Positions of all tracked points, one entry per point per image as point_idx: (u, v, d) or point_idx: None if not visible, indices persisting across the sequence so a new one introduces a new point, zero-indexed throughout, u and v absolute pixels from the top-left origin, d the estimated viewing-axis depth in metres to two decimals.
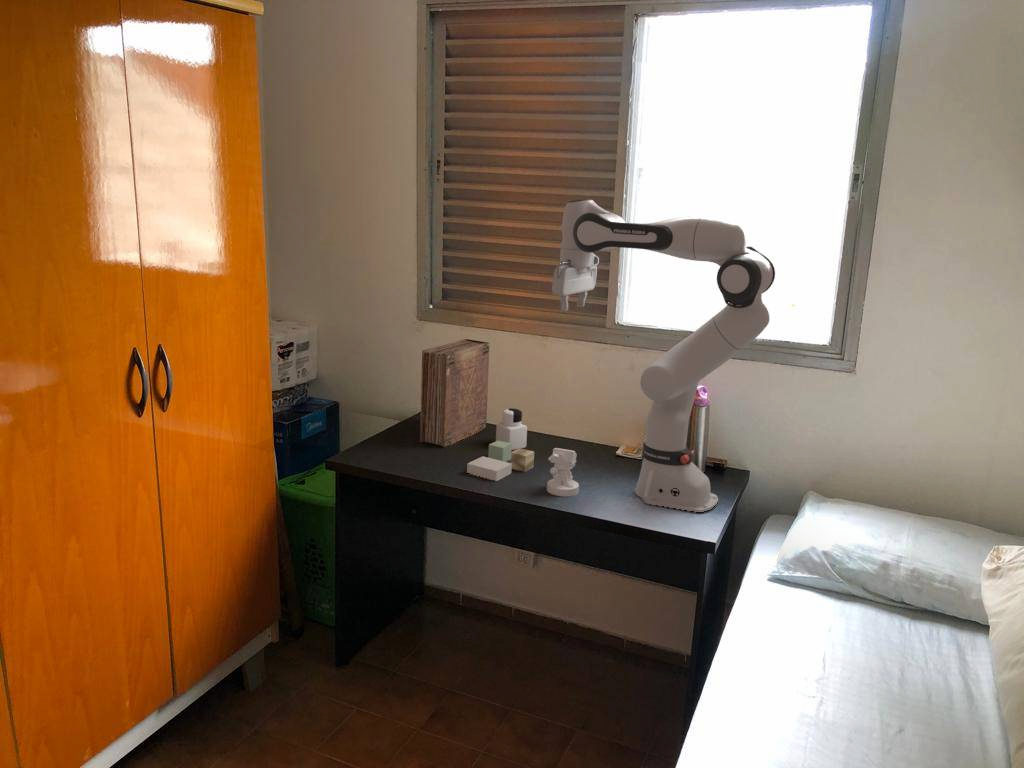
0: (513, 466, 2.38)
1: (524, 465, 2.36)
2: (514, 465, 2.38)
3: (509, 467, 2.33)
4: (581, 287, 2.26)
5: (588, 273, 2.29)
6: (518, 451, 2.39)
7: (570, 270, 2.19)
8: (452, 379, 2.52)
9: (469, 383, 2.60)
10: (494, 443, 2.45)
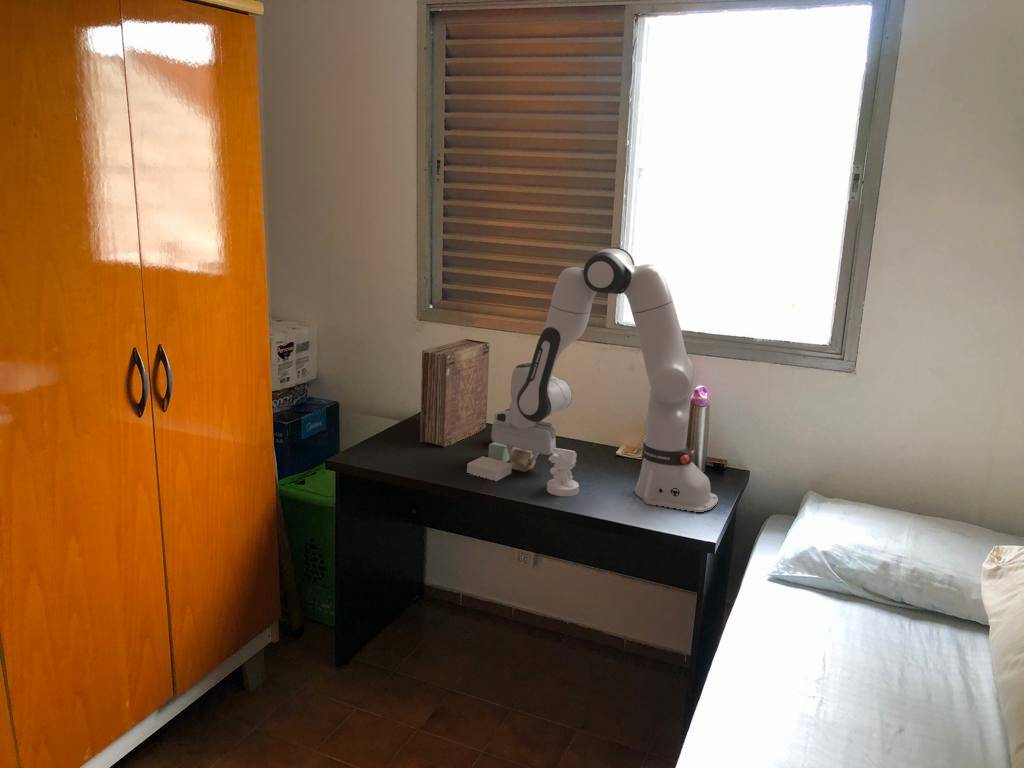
0: (513, 466, 2.38)
1: (524, 465, 2.36)
2: (514, 465, 2.38)
3: (509, 467, 2.33)
4: None
5: None
6: (518, 451, 2.39)
7: None
8: (452, 379, 2.52)
9: (469, 383, 2.60)
10: (493, 443, 2.45)
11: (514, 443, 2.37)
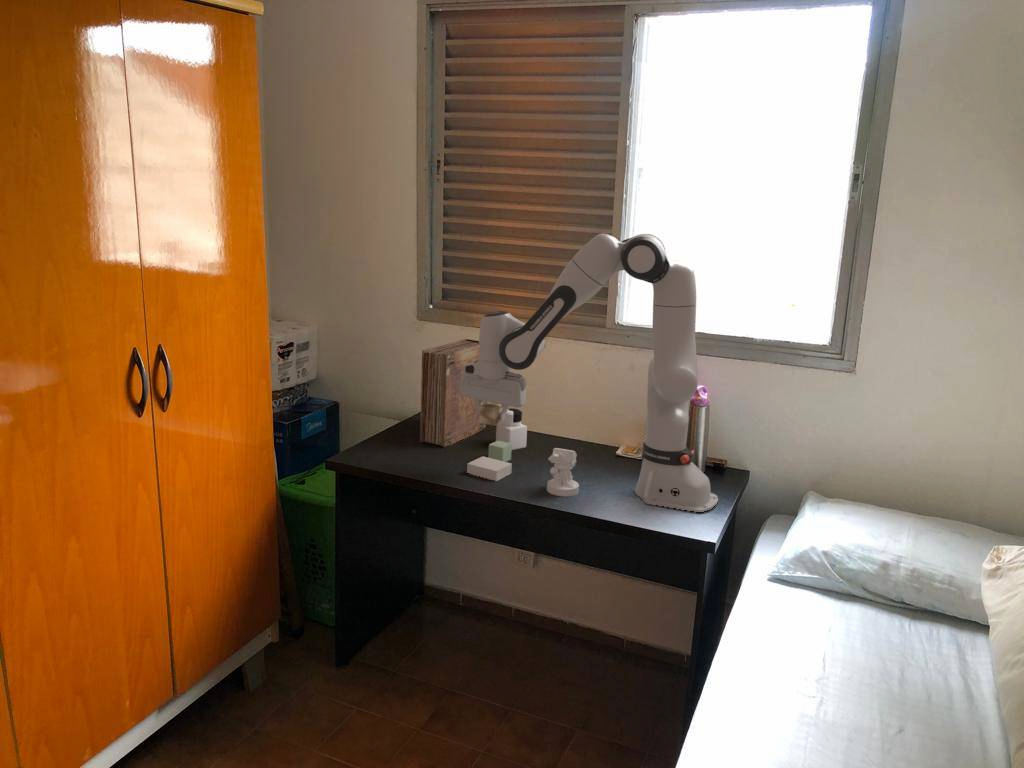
0: (482, 420, 2.29)
1: (493, 418, 2.27)
2: (483, 419, 2.29)
3: (509, 467, 2.33)
4: None
5: None
6: (488, 405, 2.29)
7: None
8: (452, 379, 2.52)
9: None
10: (494, 443, 2.45)
11: (483, 396, 2.28)
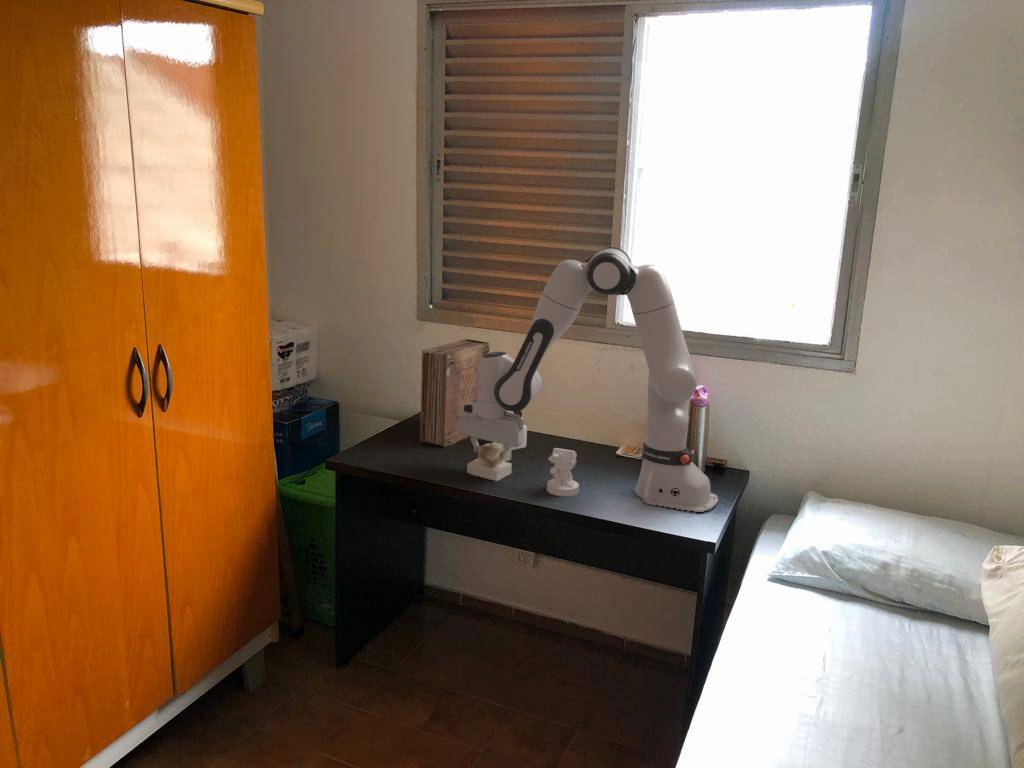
0: (481, 462, 2.32)
1: (492, 460, 2.30)
2: (481, 461, 2.32)
3: (509, 467, 2.33)
4: None
5: None
6: (486, 446, 2.32)
7: None
8: (453, 379, 2.52)
9: (469, 383, 2.60)
10: (494, 443, 2.45)
11: (481, 435, 2.31)
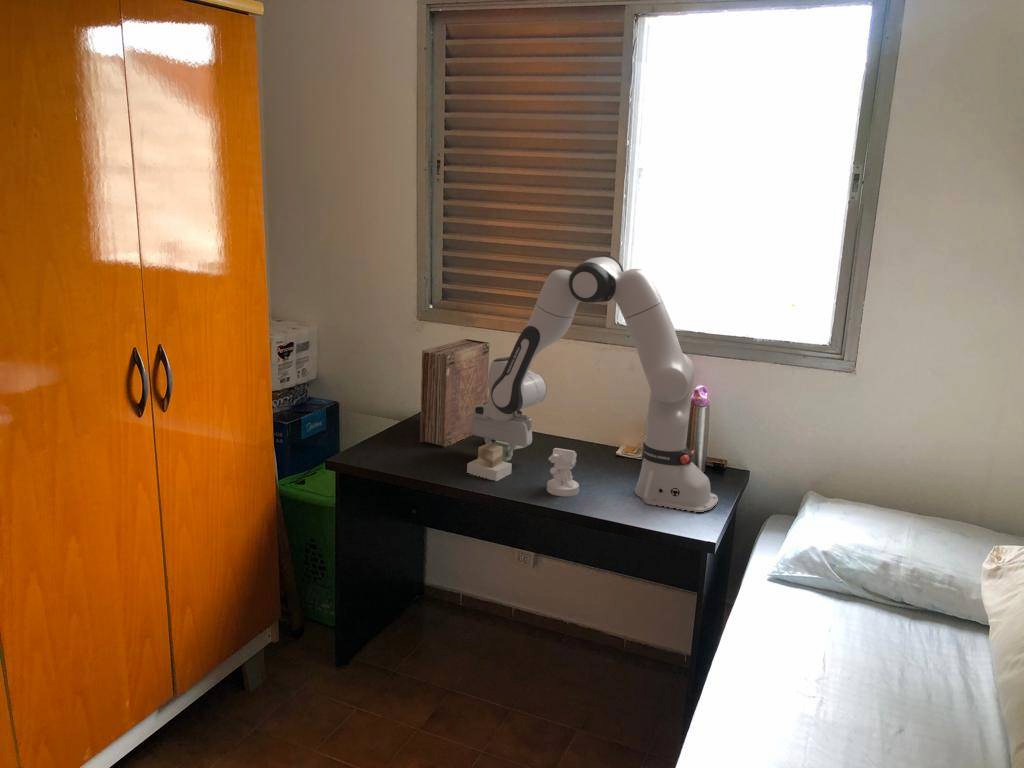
0: (481, 462, 2.32)
1: (492, 460, 2.30)
2: (481, 461, 2.32)
3: (509, 467, 2.33)
4: None
5: None
6: (486, 446, 2.32)
7: None
8: (452, 379, 2.52)
9: (469, 383, 2.60)
10: (494, 442, 2.45)
11: (492, 435, 2.44)
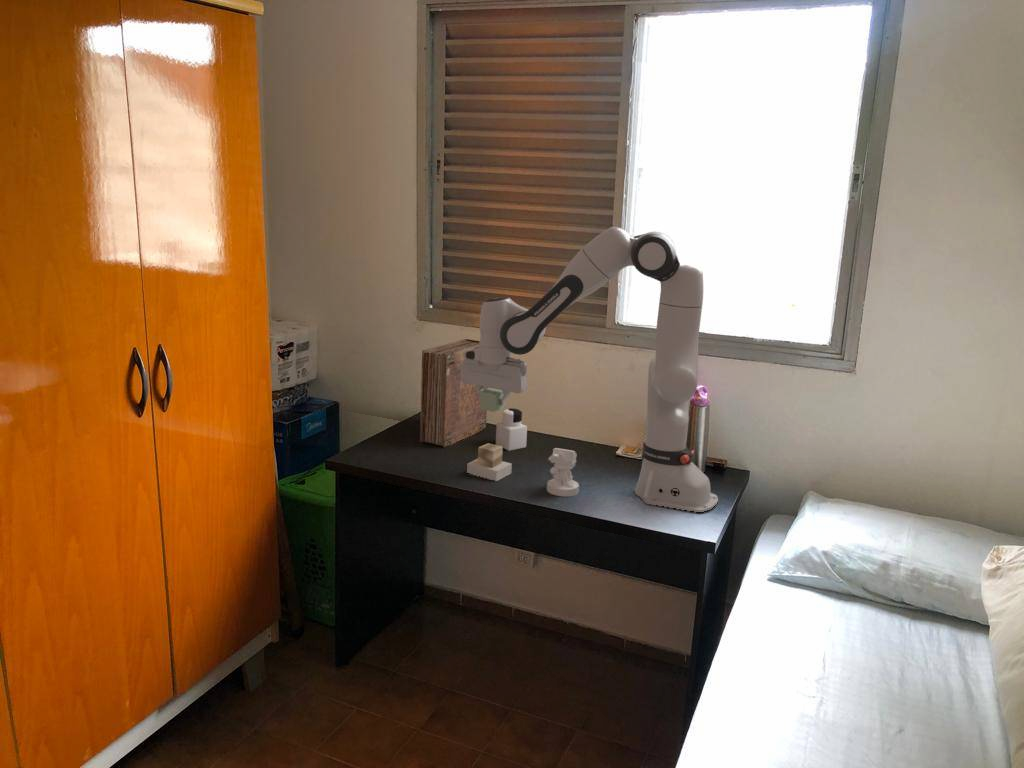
0: (481, 462, 2.32)
1: (492, 460, 2.30)
2: (481, 461, 2.32)
3: (509, 467, 2.33)
4: None
5: None
6: (486, 446, 2.32)
7: None
8: (452, 379, 2.52)
9: None
10: (486, 390, 2.29)
11: (484, 382, 2.27)
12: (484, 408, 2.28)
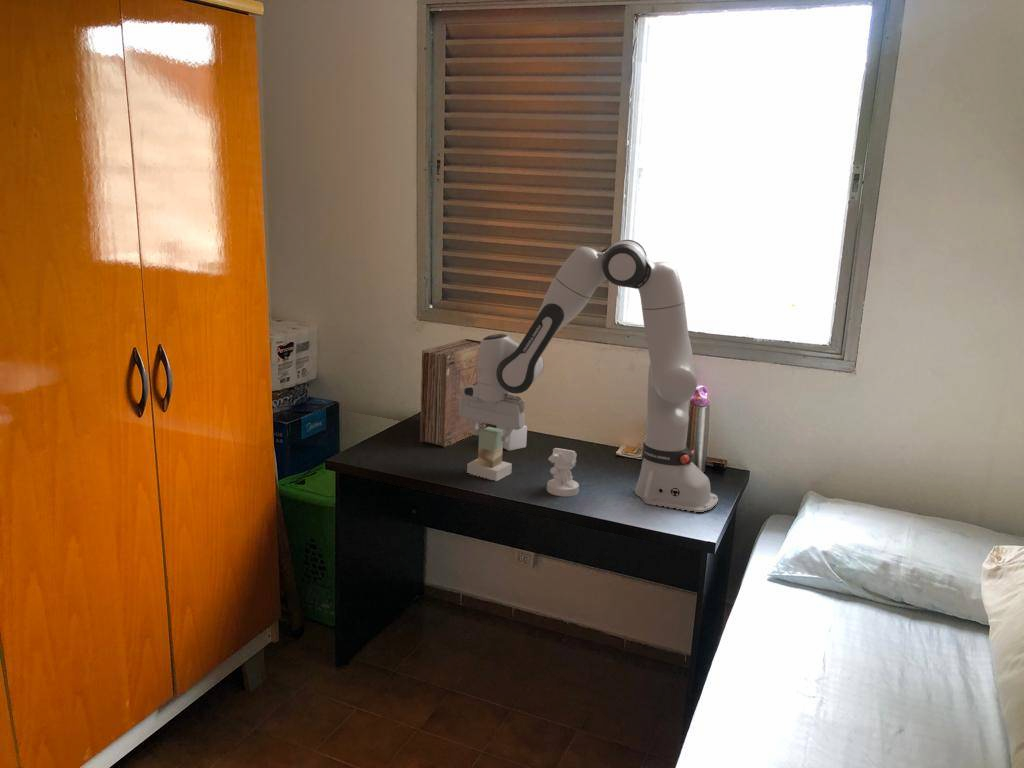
0: (481, 462, 2.32)
1: (492, 460, 2.30)
2: (481, 461, 2.32)
3: (509, 467, 2.33)
4: None
5: None
6: None
7: None
8: (452, 379, 2.52)
9: (469, 383, 2.60)
10: (484, 429, 2.31)
11: (482, 418, 2.29)
12: (482, 447, 2.30)
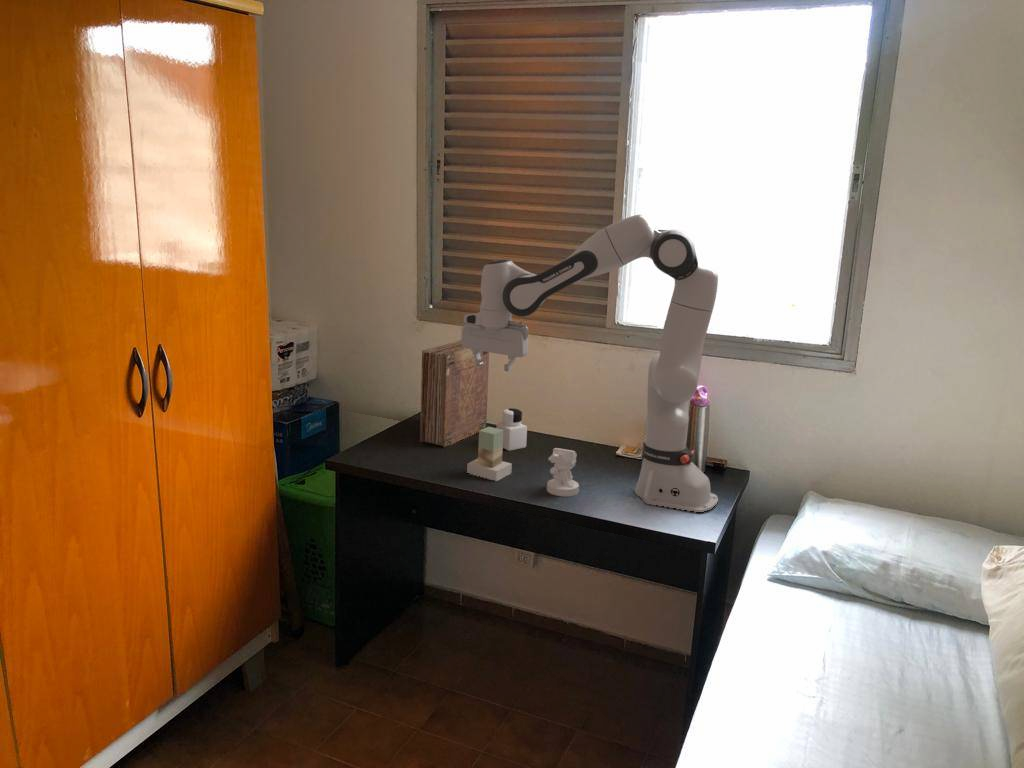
0: (481, 462, 2.32)
1: (492, 460, 2.30)
2: (481, 461, 2.32)
3: (509, 467, 2.33)
4: None
5: None
6: None
7: None
8: (452, 379, 2.52)
9: (469, 383, 2.60)
10: (484, 429, 2.31)
11: (485, 347, 2.24)
12: (482, 447, 2.30)
